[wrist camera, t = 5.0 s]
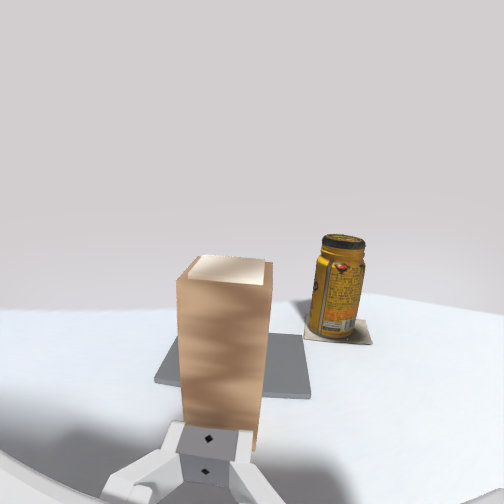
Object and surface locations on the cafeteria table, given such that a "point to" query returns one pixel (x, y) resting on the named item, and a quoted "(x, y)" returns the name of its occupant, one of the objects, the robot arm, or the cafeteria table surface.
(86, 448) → the cafeteria table surface
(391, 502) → the cafeteria table surface
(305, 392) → the mat
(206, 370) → the block
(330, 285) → the condiment
